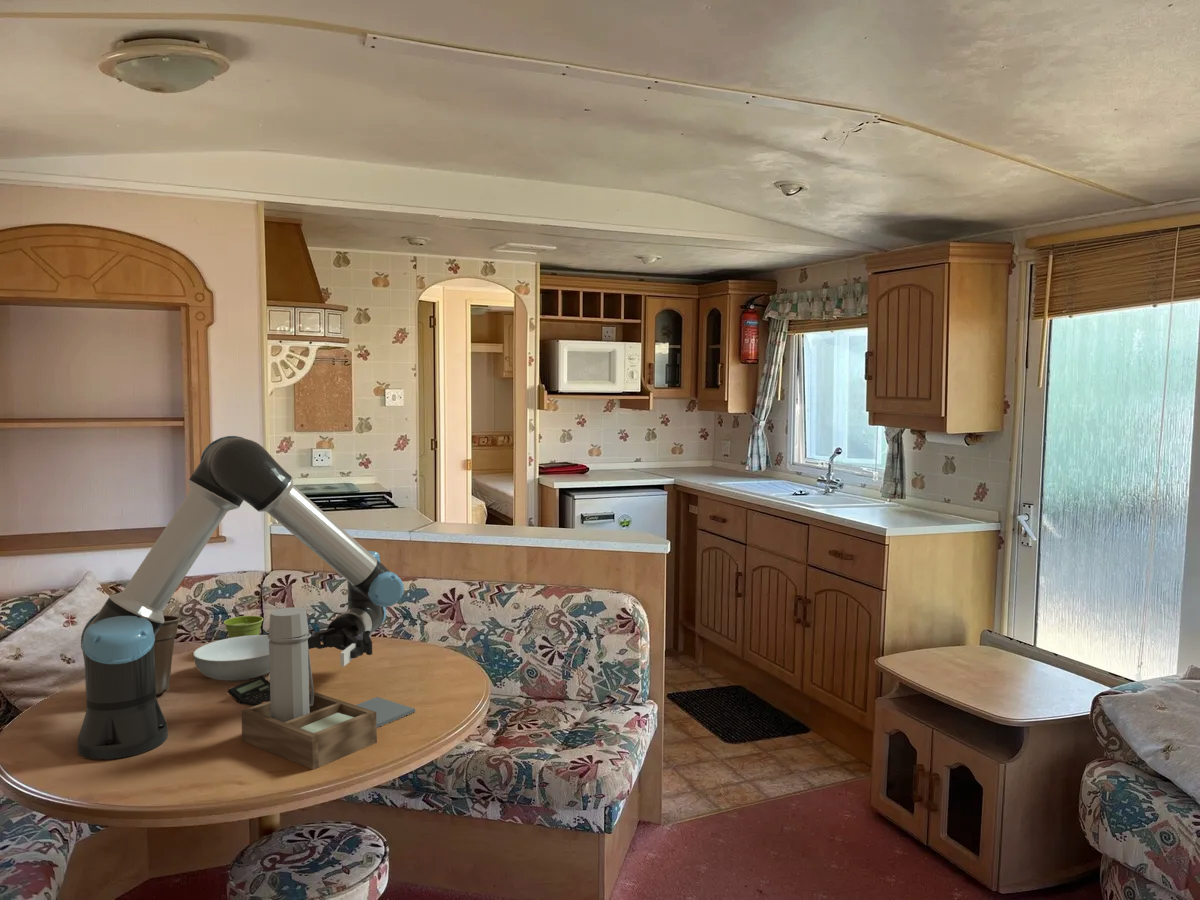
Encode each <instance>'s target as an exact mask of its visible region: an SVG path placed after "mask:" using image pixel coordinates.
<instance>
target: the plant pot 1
mask: <svg viewBox="0 0 1200 900" xmlns="http://www.w3.org/2000/svg"><path fill="white" fill-rule="evenodd" d="M163 616H164V620H165V621H164V623H163V625H162V626H161V628H160V629H159V631H158V632H157V634H156V635H155V642H154V658H155V681H156V696H157V695H160V694H162V693H165V692H168V691H169V689H170V682H171V681H170V680H171V671H172V662H173V654H174V645H175V638H176V636H177V635H178V634H177V633H178V628H179V627H178V626H179V622H180V621H181V617H180V616H176V615H164V614H163Z"/></svg>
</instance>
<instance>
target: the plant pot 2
mask: <svg viewBox="0 0 1200 900" xmlns="http://www.w3.org/2000/svg"><path fill="white" fill-rule="evenodd" d="M263 621H264V617H262V616H259V615H242V616H235V617H232V618H231V617H230V618H228V619H225V620H223V624H224V625H223V626H225V628H226V631H227V635H228V638H233V637H240V636H250V635H260V633H261V627H262V623H263Z"/></svg>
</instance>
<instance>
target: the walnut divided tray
mask: <svg viewBox="0 0 1200 900" xmlns="http://www.w3.org/2000/svg"><path fill="white" fill-rule="evenodd" d="M310 700H311V689H309V704H310ZM356 705H357V704H353V703H350V702H348V701H347V702H346V701H343V700H341V699H337V698H336V697H335V698H334V697H332V696H328V695H325V694H321V693H319V692H316V691H314V701H313V705H312V706H310V707H309V709H310V713H309V714H306V715H303V716H300V717H298V718H295V719H292V720H289V721H286V722H282V721H279V720H277V719H274V718H271V701H268V702H265V703H262V704H259V705H256V706H250V707H247V708H245V709H242V710H241V711H240V712H241V740H242V742H244V743H246V742H247V743H246V744H249V745H251V744H252V746H254V747H256V746H257V747H256V748H259V749H262V750H264V751H267V752H269V753H271V754H273V755H276V756H279V757H281V758H284V759H286V760H288V761H291V762H293V763H296V764H298V765H301V766H302V767H306V768H308V769H311V770H313V771H314V770H315V769H318V768H321V767H322V766H325V765H327V764H330V763H333V762H335V761H337V760H339V759H341V758H344V757H346V756H348V755H351V754H353V753H355V752H358V751H360V750H362V749H364V748H367V747H369V746H373V745H374V744H377V743H378V736H377V735H378V734H377V733H378V731H377V730H378V728H377V723H376V712H375V711H372V710H369V709H366V708H363V707H359V706H356ZM336 713H341V714H344V715H348V716H351V717H354V718H352V719H349V720H346V721H344V722H341V723H339V724H336V725H334V726H331V727H328V728H326V729H323V730H321V731H318V732H315V733H312V732H309V731H306V730H304V729H301V727H304V726H306V725H308V724H311V723H313V722H316V721H318V720H321V719H323V718H326V717H328V716H331V715H333V714H336Z"/></svg>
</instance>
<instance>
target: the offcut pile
mask: <svg viewBox="0 0 1200 900" xmlns="http://www.w3.org/2000/svg"><path fill="white" fill-rule="evenodd" d="M352 718H354V717H351V716H348V715H344V714H341V713H336V714H333V715H331V716H328V717H326V718H323V719H321V720H318V721H316V722H313V723H311V724H308V725H306V726H304V727H301V729H304V730H306V731H309V732H312V733H315V732H318V731H321V730H323V729H326V728H328V727H331V726H334V725H336V724H339V723H341V722H344V721H346V720H349V719H352Z"/></svg>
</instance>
